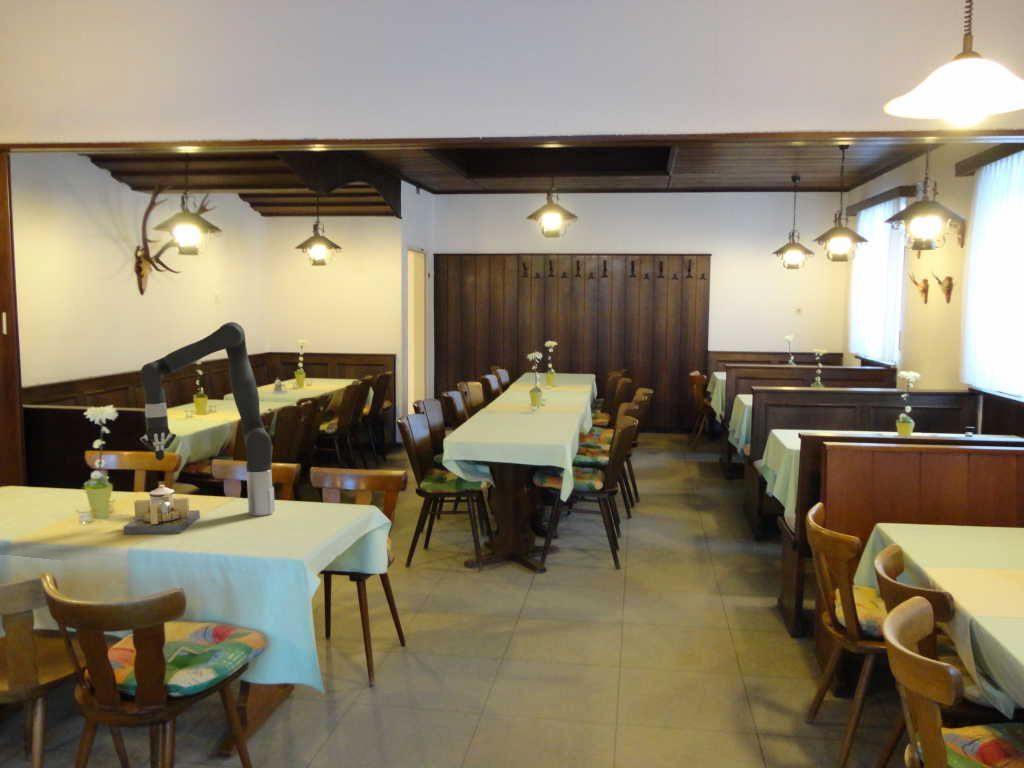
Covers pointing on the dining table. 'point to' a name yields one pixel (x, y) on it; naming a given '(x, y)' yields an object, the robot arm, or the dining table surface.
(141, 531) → the gray flat tray
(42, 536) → the dining table surface
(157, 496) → the teacup with lid
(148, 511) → the tan blocky ring
